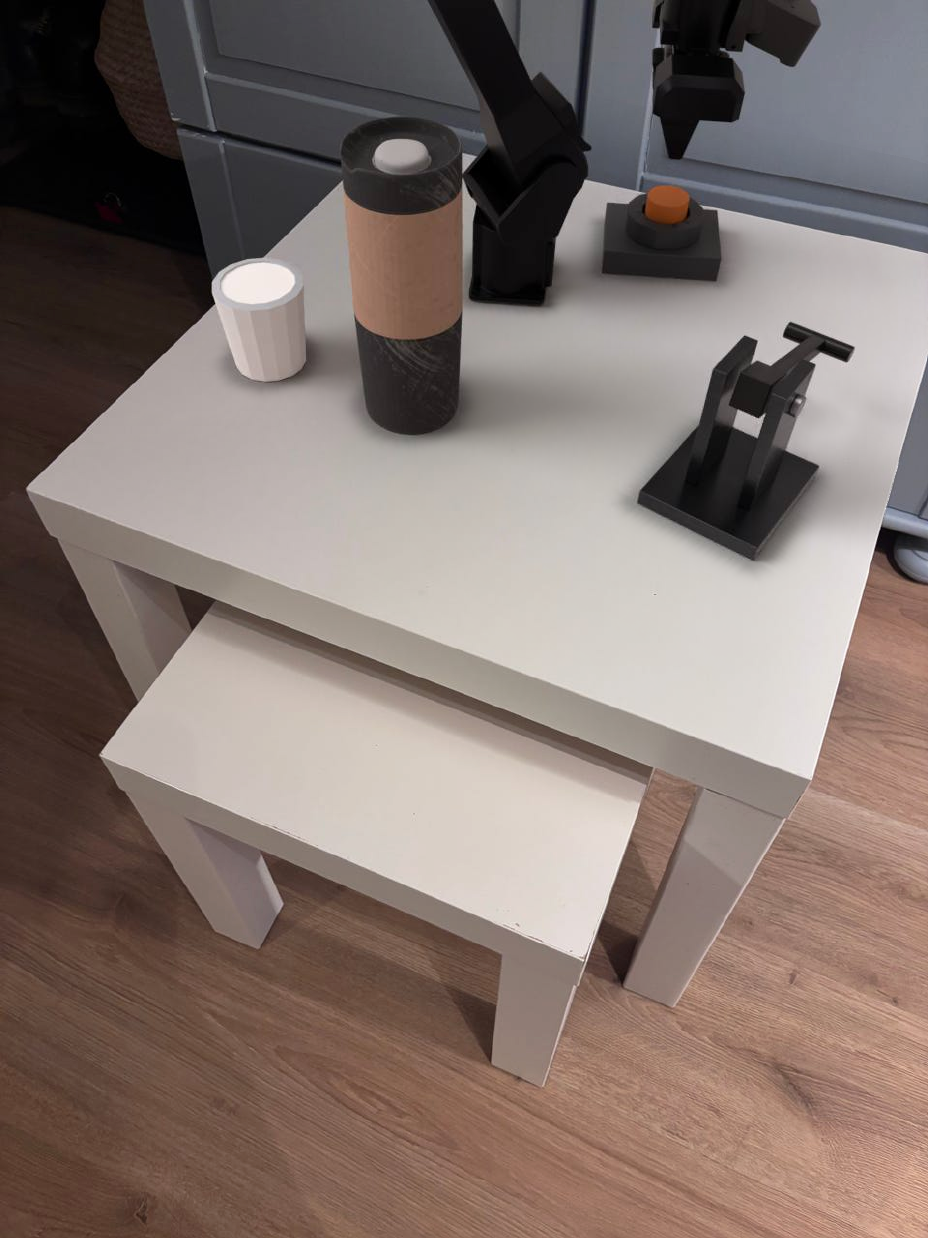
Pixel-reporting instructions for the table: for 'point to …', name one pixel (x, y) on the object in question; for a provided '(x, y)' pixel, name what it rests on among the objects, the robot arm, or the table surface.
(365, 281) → the travel mug
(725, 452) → the switch bracket
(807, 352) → the switch lever
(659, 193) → the power button
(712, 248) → the control block
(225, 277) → the shot glass
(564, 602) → the table surface
